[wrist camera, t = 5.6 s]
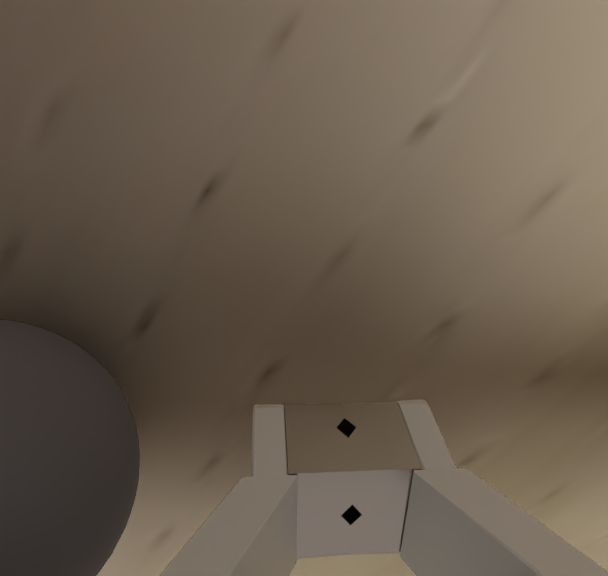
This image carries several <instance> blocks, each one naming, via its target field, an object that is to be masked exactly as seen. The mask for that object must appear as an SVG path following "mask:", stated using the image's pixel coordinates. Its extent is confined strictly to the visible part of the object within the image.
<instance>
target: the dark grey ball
mask: <svg viewBox="0 0 608 576" xmlns="http://www.w3.org/2000/svg"><path fill="white" fill-rule="evenodd" d="M139 461H140V453H139V442H138V436H137V430H136V426H135V422H134V418H133V415H132V413H131V410H130V408H129V406H128V403H127V401H126V399H125V396H124V394H123V393H122V391H121V389H120V387H119V386H118V384H117V383H116V381H115V380H114V379H113V377H112V376H111V375H110V374H109V372H108V371H107V370H106V369H105V368H104V367H103V366H102V365H101V364H100V363H99V362H98V361H97V360H96V359H95V358H94V357H92V356H91V355H90V354H89V353H88V352H87V351H85V350H84V349H82V348H81V347H79V346H78V345H76V344H75V343H73V342H71V341H70V340H68V339H66V338H64V337H62V336H60V335H58V334H55V333H53V332H51V331H48V330H46V329H43V328H40V327H37V326H34V325H31V324H26V323H22V322H17V321H10V320H0V576H96V575H97V574H98V573H99V571H100V570H101V569H102V567H103V566H104V564H105V563H106V561H107V560H108V559H109V557H110V556H111V554H112V552H113V550H114V548H115V546H116V544H117V542H118V541H119V539H120V537H121V535H122V533H123V531H124V529H125V527H126V524H127V522H128V519H129V516H130V513H131V510H132V507H133V503H134V500H135V496H136V491H137V485H138V478H139Z"/></svg>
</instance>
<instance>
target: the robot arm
mask: <svg viewBox="0 0 608 576" xmlns="http://www.w3.org/2000/svg"><path fill="white" fill-rule="evenodd" d="M389 553H400V557H401V558H402V559H403V560H404V561H405V562H406V564H407V565H408V566H409V567H410V568H411V570H412V571H413V572H414V573H415V574H416V575H417V576H608V573H607V571H606V570H605V569H604V568H602V567H601V566H600V565H598V564H597V563H596V562H594V561H593V560H591V559H590V558H589V557H587V556H586V555H585V554H583V553H582V552H580V551H579V550H578V549H576V548H575V547H574V546H572V545H571V544H569V543H568V542H567V541H565V540H564V539H563V538H561V537H560V536H558V535H557V534H556V533H554V532H553V531H552V530H550V529H549V528H547V527H546V526H545V525H543V524H542V523H541V522H539V521H538V520H536V519H535V518H534V517H532V516H531V515H530V514H528V513H527V512H525V511H524V510H523V509H521V508H520V507H519V506H517V505H516V504H514V503H513V502H512V501H510V500H509V499H508V498H506V497H505V496H503V495H502V494H501V493H499V492H498V491H497V490H495V489H494V488H492V487H491V486H490V485H488V484H487V483H486V482H484V481H483V480H481V479H480V478H479V477H477V476H476V475H475V474H473V473H472V472H470V471H469V470H468V469H466V468H457V467H456V465H455V463H454V460H453V458H452V456H451V454H450V451H449V449H448V447H447V445H446V442H445V440H444V438H443V436H442V434H441V431H440V429H439V427H438V425H437V422H436V420H435V418H434V416H433V414H432V411H431V409H430V407H429V405H428V403H427V402H426V401H425V400H424V399H420V400H401V401H395V402H369V403H341V404H340V403H320V404H284V407H283V405H282V404H258V405H254V408H253V425H252V464H251V477H242V478H241V479H240V480H239V482H238V483H237V484H236V485H235V486H234V487H233V489H232V490H231V491H230V492H229V493H228V495H227V496H226V497H225V498H224V499H223V501H222V502H221V503H220V504H219V505H218V507H217V508H216V509H215V510H214V511H213V512H212V514H211V515H210V516H209V517H208V518H207V520H206V521H205V522H204V523H203V524H202V526H201V527H200V528H199V529H198V530H197V532H196V533H195V534H194V535H193V536H192V537H191V539H190V540H189V541H188V542H187V543H186V545H185V546H184V547H183V548H182V549H181V551H180V552H179V553H178V554H177V555H176V557H175V558H174V559H173V560H172V561H171V562H170V564H169V565H168V566H167V567H166V568H165V570H164V571H163V572H162V573H161V574H160V576H289V575H290V573H291V571H292V569H293V568H294V566H295V564H296V559H298V558H310V557H322V556H334V555H347V554H389Z"/></svg>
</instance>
